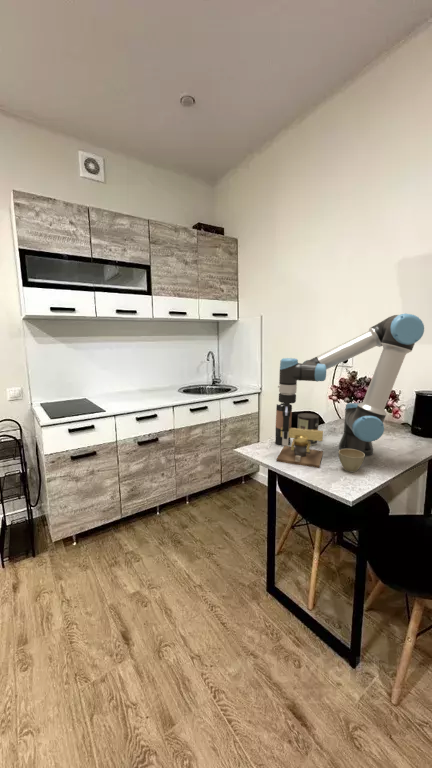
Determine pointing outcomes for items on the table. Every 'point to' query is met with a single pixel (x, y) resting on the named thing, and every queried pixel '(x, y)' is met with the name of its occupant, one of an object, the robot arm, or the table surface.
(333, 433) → the table surface
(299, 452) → the base
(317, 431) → the coupling
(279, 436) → the travel mug
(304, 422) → the coffee can
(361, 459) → the flower pot
